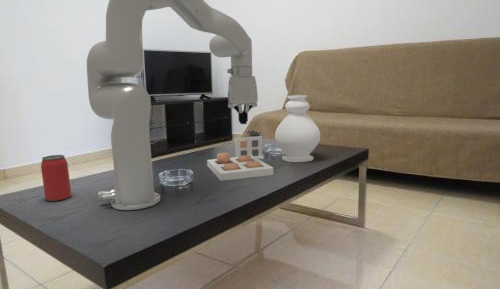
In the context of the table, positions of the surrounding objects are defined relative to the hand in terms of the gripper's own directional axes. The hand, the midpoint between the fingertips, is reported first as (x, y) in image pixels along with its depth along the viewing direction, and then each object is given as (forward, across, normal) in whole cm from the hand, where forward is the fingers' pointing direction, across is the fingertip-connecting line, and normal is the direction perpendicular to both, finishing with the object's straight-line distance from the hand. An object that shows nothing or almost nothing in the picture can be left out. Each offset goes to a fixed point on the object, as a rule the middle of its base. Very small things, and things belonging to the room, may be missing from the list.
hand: (243, 123), depth 130 cm
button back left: (+14, -8, 0) cm, 16 cm away
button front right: (+16, 0, -10) cm, 18 cm away
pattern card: (+16, +5, +10) cm, 19 cm away
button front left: (+15, -8, -10) cm, 20 cm away
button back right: (+15, 0, 0) cm, 15 cm away
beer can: (+16, -60, -14) cm, 64 cm away
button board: (+16, -4, -5) cm, 17 cm away
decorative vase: (+16, +23, +3) cm, 28 cm away
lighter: (+16, +11, +21) cm, 29 cm away
